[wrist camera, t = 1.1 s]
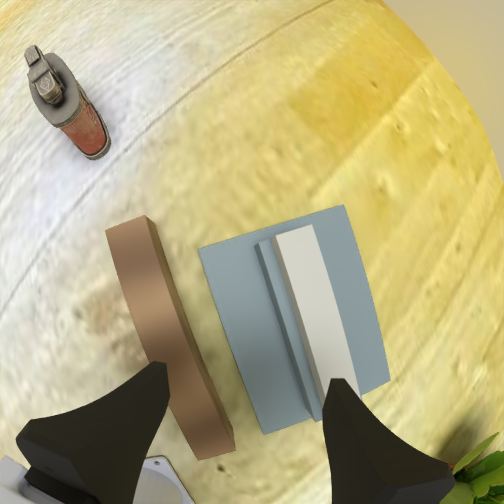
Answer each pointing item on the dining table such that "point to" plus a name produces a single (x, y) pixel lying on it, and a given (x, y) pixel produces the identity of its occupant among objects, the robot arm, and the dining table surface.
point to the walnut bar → (169, 336)
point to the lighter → (66, 103)
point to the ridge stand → (297, 314)
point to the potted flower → (478, 478)
